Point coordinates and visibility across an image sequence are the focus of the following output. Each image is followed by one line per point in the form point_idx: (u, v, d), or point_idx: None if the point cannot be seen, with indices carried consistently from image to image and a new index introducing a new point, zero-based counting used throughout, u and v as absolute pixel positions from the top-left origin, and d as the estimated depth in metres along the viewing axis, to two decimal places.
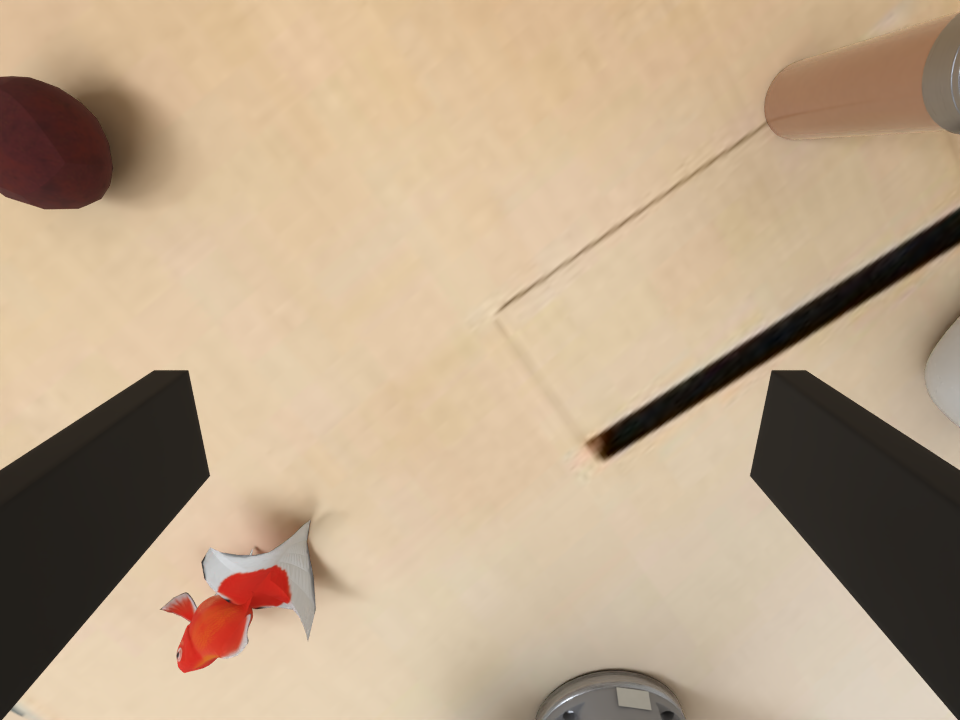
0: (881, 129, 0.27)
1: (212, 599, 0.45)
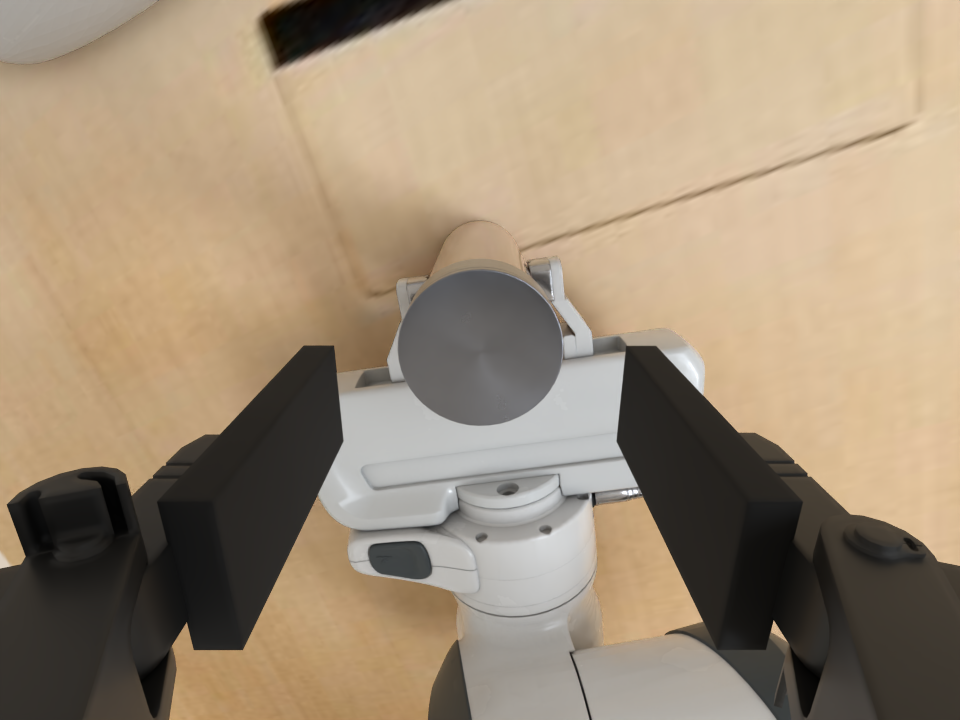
0: (519, 261, 0.22)
1: None
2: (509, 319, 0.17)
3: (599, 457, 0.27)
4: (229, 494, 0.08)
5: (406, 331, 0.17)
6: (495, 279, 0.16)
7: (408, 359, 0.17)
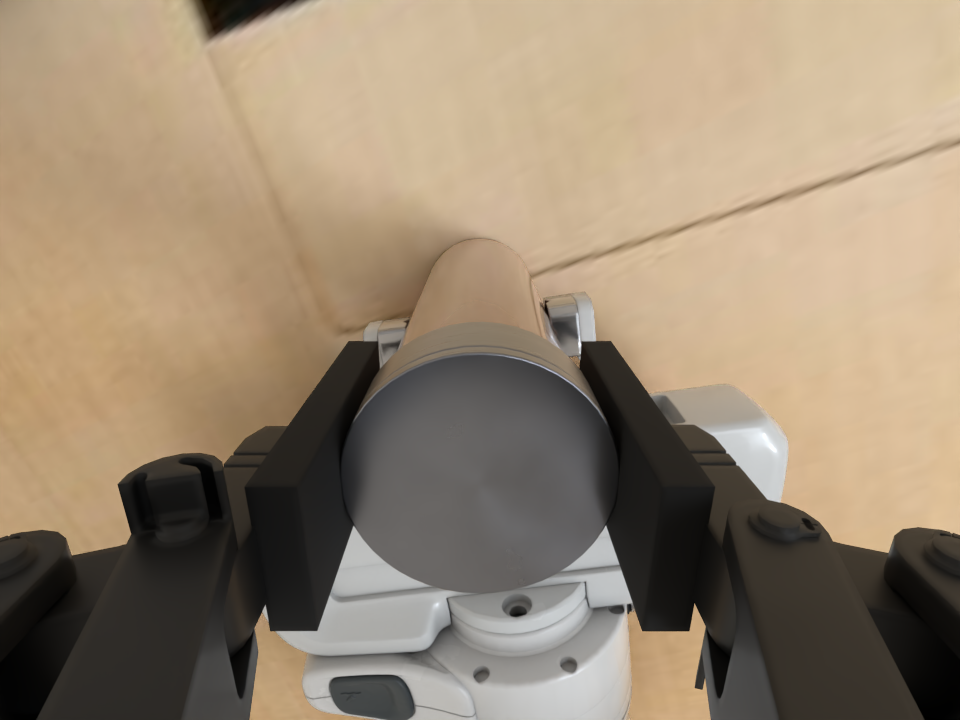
0: (536, 307, 0.15)
1: None
2: (528, 434, 0.10)
3: None
4: (308, 481, 0.08)
5: (353, 452, 0.10)
6: (505, 369, 0.09)
7: (358, 495, 0.10)
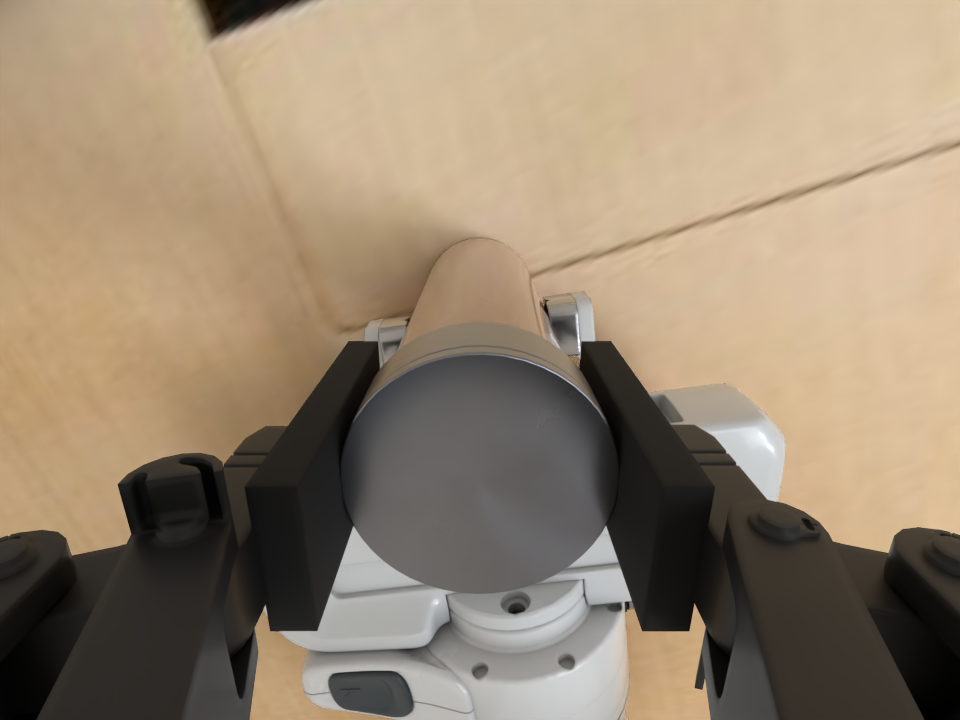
0: (536, 306, 0.15)
1: None
2: (406, 473, 0.10)
3: None
4: (308, 481, 0.08)
5: (506, 584, 0.11)
6: (363, 517, 0.10)
7: (546, 565, 0.11)
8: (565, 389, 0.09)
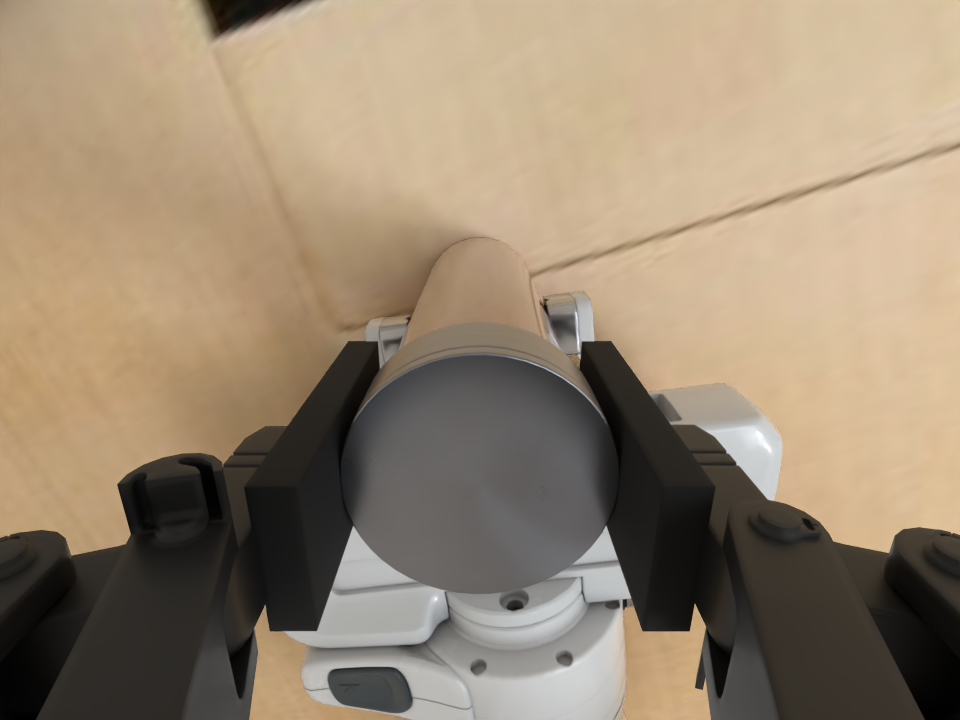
0: (535, 305, 0.15)
1: None
2: (502, 542, 0.10)
3: None
4: (308, 481, 0.08)
5: (581, 407, 0.09)
6: (567, 553, 0.11)
7: (536, 382, 0.09)
8: (348, 468, 0.10)
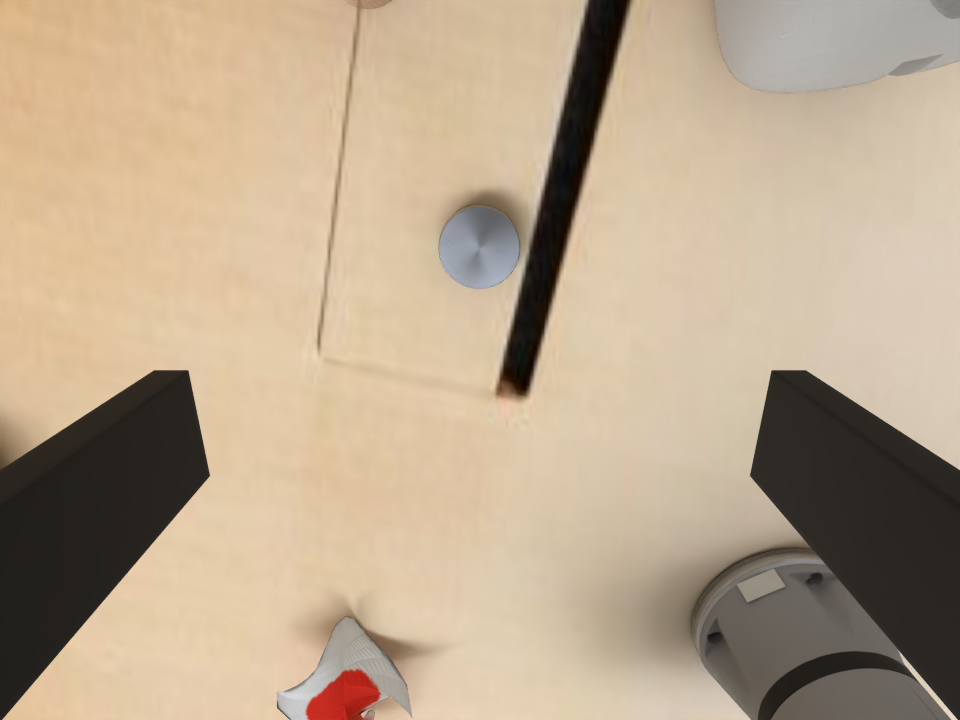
0: None
1: None
2: (486, 269, 0.35)
3: None
4: None
5: (507, 223, 0.34)
6: (505, 273, 0.35)
7: (494, 215, 0.34)
8: (441, 243, 0.34)
